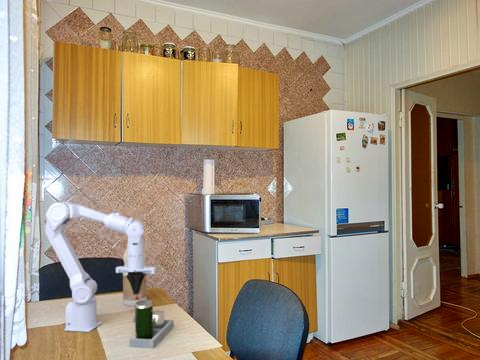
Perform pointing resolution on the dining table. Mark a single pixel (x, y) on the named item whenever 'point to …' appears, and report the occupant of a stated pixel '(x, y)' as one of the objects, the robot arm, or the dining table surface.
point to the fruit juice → (128, 295)
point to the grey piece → (157, 336)
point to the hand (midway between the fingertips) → (136, 293)
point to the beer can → (144, 319)
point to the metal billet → (158, 319)
